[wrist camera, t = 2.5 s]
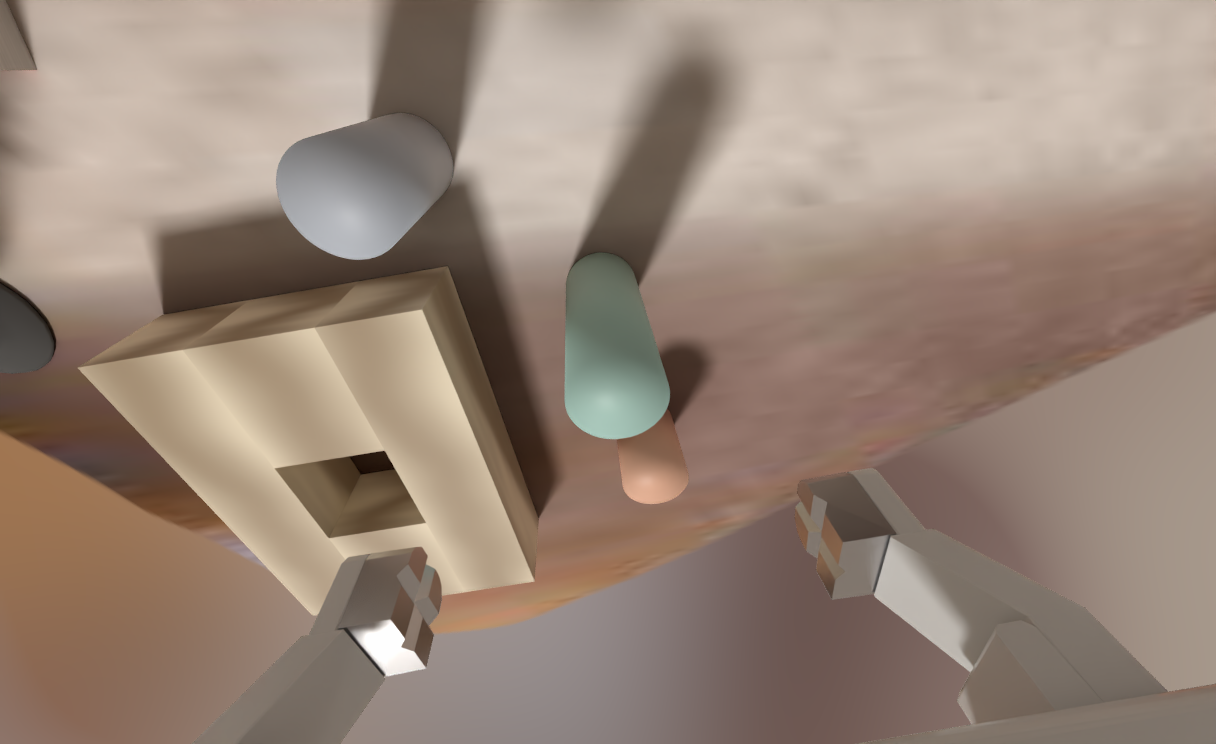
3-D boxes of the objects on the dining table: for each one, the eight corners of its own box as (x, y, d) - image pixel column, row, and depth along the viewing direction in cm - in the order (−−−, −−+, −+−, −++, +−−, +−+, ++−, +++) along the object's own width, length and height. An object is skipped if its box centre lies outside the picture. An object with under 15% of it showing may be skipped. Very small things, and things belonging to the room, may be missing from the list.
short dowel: (670, 397, 23) (686, 452, 20) (674, 440, 25) (690, 498, 22) (611, 406, 24) (618, 463, 20) (619, 449, 25) (626, 508, 22)
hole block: (448, 266, 19) (421, 309, 16) (538, 519, 28) (534, 581, 24) (162, 314, 19) (77, 367, 16) (342, 550, 28) (312, 615, 25)
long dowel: (631, 246, 19) (666, 345, 12) (639, 312, 21) (673, 430, 14) (559, 259, 19) (554, 364, 12) (573, 323, 21) (575, 445, 14)
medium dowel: (436, 105, 16) (375, 125, 11) (464, 196, 17) (422, 249, 12) (350, 120, 16) (250, 147, 11) (386, 209, 18) (314, 268, 13)
